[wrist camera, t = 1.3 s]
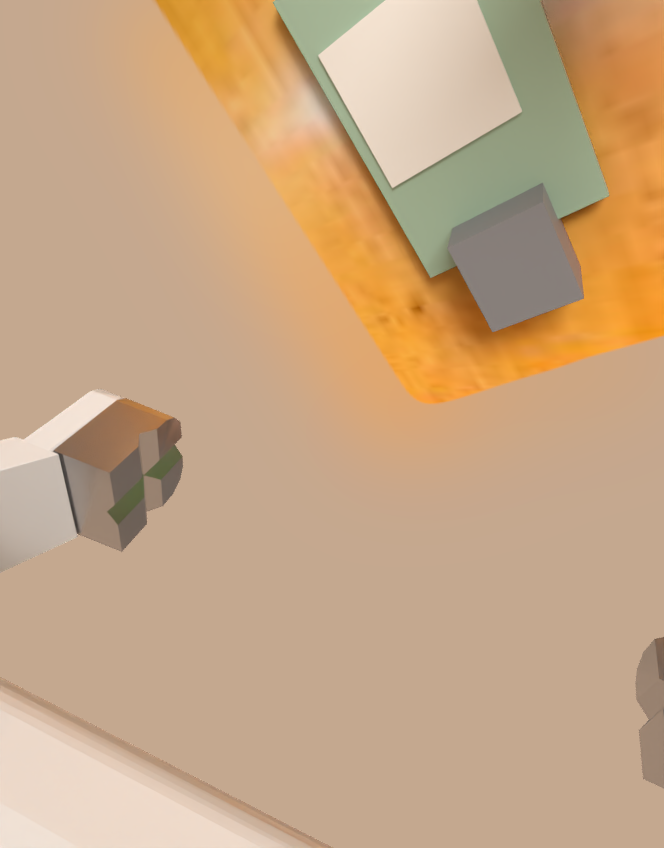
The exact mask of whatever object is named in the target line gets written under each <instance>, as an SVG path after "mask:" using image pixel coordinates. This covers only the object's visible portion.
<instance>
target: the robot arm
mask: <svg viewBox="0 0 664 848" xmlns="http://www.w3.org/2000/svg"><path fill="white" fill-rule="evenodd" d="M181 436H182V435H181V425H180V422H179V421H178V420H177V419H175V418H174V417H171V416H169V415H166V414H164V413H161V412H159V411H157V410H154V409H152V408H149V407H146V406H144V405H141V404H139V403H137V402H134V401H132V400H129V399H127V398H122V397H120V396H118V395H115V394H113V393H110V392H108V391H105V390H103V389H98V390H93V391H91V392H89V393H88V394H86V395H85V396H83V397H82V398H81V399H79V400H78V401H77V402H75V403H74V404H72V405H71V406H70V407H68V408H67V409H65V410H64V411H63V412H61V413H60V414H59V415H57V416H56V417H54V418H53V419H52V420H50V421H49V422H48V423H46V424H45V425H43V426H42V427H41V428H39V429H38V430H36V431H35V432H34V433H32V434H31V435H30V436H28V437H27V438H26V439H24V440H22V439H20V438H17V437H13V438H9V439H5V440H1V441H0V573H1V572H3V571H5V570H7V569H9V568H11V567H14V566H16V565H18V564H20V563H22V562H24V561H27V560H29V559H31V558H33V557H35V556H37V555H40V554H42V553H44V552H46V551H48V550H50V549H52V548H55V547H57V546H59V545H61V544H63V543H65V542H67V541H70V540H71V539H74V538H76V537H77V534H79V535H82V536H84V537H86V538H89V539H91V540H94V541H97V542H99V543H101V544H104V545H106V546H109V547H112V548H114V549H117V550H119V551H123V550H124V549H125V548H126V546H127V545H128V544H129V543H130V542H131V541H132V540H133V539H134V538H135V536H136V535H137V534H138V533H139V532H140V531H141V530H142V529H143V528H144V526H145V525H146V524H147V511H150V510H153V509H156V508H158V507H161V506H163V505H164V504H165V503H166V502H167V500H168V499H169V498H170V497H171V496H172V494H173V492H174V491H175V489H176V487H177V485H178V483H179V480H180V478H181V473H182V468H183V459H182V455H181V454H180V452H179V450H178V449H177V447H176V446H175V444H176V442H177V441H178V440H179V439H180V438H181ZM636 698H637V701H638V703H639V704H640V706H641V707H642V709H643V711H644V712H645V714H646V715H647V717H648V719H649V720H648V721H647V723H646V724H645V725H644V726H643V727H642V728H641V729H640V730H639V736H640V747H641V758H642V770H643V779H645V780H647V781H649V782H651V783H654V784H656V785H658V786H660V787H662V788H664V637H663V638H657V639H654V641H653V642H652V643H651V644H650V645H649V647H648V648H647V649H646V650H645V651H644V652H643V655H642V658H641V660H640V663H639V666H638V668H637V676H636ZM0 848H332V847H330V846H328V845H326V844H325V843H323V842H321V841H319V840H317V839H314V838H313V837H311V836H309V835H307V834H305V833H303V832H301V831H299V830H297V829H295V828H293V827H291V826H289V825H287V824H286V823H284V822H282V821H280V820H278V819H276V818H274V817H272V816H270V815H268V814H266V813H264V812H262V811H260V810H258V809H256V808H254V807H252V806H251V805H249V804H247V803H245V802H243V801H241V800H239V799H237V798H235V797H232V796H231V795H229V794H227V793H225V792H223V791H221V790H219V789H217V788H215V787H213V786H212V785H209V784H208V783H206V782H204V781H202V780H200V779H198V778H196V777H194V776H192V775H190V774H188V773H186V772H184V771H182V770H180V769H178V768H176V767H175V766H173V765H171V764H169V763H167V762H165V761H163V760H161V759H159V758H157V757H155V756H153V755H151V754H149V753H147V752H145V751H143V750H141V749H139V748H138V747H135V746H134V745H132V744H130V743H128V742H126V741H124V740H122V739H120V738H118V737H116V736H114V735H112V734H110V733H108V732H106V731H104V730H102V729H101V728H99V727H97V726H95V725H93V724H91V723H89V722H87V721H85V720H83V719H81V718H79V717H77V716H75V715H73V714H71V713H69V712H67V711H65V710H63V709H61V708H60V707H58V706H56V705H54V704H52V703H50V702H48V701H46V700H44V699H42V698H40V697H38V696H36V695H34V694H32V693H30V692H28V691H26V690H24V689H23V688H21V687H19V686H17V685H15V684H13V683H11V682H9V681H7V680H5V679H3V678H1V677H0Z"/></svg>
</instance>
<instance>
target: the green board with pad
mask: <svg viewBox="0 0 664 848" xmlns="http://www.w3.org/2000/svg"><path fill="white" fill-rule="evenodd" d="M273 4H274V6H275V7H276V9H277V11H278V12H279V14H280V16H281V18H282V19H283V21H284V23H285V25H286V26H287V28H288V30H289V32H290V33H291V35H292V37H293V39H294V40H295V42H296V44H297V46H298V47H299V49H300V51H301V53H302V54H303V56H304V58H305V60H306V61H307V63H308V65H309V67H310V68H311V70H312V72H313V74H314V75H315V77H316V79H317V81H318V82H319V84H320V86H321V88H322V89H323V91H324V93H325V95H326V96H327V98H328V100H329V102H330V103H331V105H332V107H333V108H334V110H335V112H336V114H337V115H338V117H339V119H340V121H341V122H342V124H343V126H344V128H345V129H346V131H347V133H348V135H349V136H350V138H351V140H352V142H353V143H354V145H355V147H356V149H357V150H358V152H359V154H360V156H361V157H362V159H363V161H364V163H365V164H366V166H367V168H368V170H369V171H370V173H371V175H372V177H373V178H374V180H375V182H376V184H377V185H378V187H379V189H380V191H381V192H382V194H383V196H384V198H385V199H386V201H387V203H388V204H389V206H390V208H391V210H392V211H393V213H394V215H395V217H396V218H397V220H398V222H399V224H400V225H401V227H402V229H403V231H404V232H405V234H406V236H407V238H408V239H409V241H410V243H411V245H412V246H413V248H414V250H415V252H416V253H417V255H418V257H419V259H420V260H421V262H422V264H423V266H424V267H425V269H426V271H427V273H428V274H429V276H430V278H432V277H434V276H436V275H438V274H440V273H443V272H445V271H447V270H449V269H451V268H453V267H456V266H457V267H458V269H459V271H460V273H461V275H462V276H463V278H464V280H465V282H466V284H467V286H468V288H469V289H470V291H471V293H472V295H473V297H474V299H475V301H476V302H477V304H478V306H479V308H480V310H481V312H482V314H483V315H484V317H485V319H486V321H487V323H488V325H489V327H490V328H491V330H492V332H495V331H497V330H500V329H503V328H505V327H508V326H511V325H514V324H516V323H519V322H522V321H524V320H527V319H530V318H532V317H535V316H538V315H541V314H543V313H546V312H549V311H551V310H554V309H557V308H559V307H562V306H565V305H567V304H570V303H573V302H576V301H578V300H581V299H584V294H583V285H582V275H581V266H580V264H579V261H578V259H577V257H576V254H575V252H574V249H573V247H572V244H571V242H570V240H569V237H568V235H567V232H566V230H565V228H564V225H563V223H562V220H561V218H562V217H564V216H567V215H569V214H571V213H573V212H575V211H577V210H580V209H582V208H584V207H586V206H588V205H591V204H593V203H595V202H597V201H599V200H601V199H604V198H606V197H608V196H609V192H608V188H607V185H606V182H605V179H604V176H603V174H602V171H601V168H600V165H599V162H598V160H597V157H596V154H595V151H594V148H593V146H592V143H591V140H590V137H589V134H588V132H587V129H586V126H585V123H584V120H583V118H582V115H581V112H580V109H579V106H578V104H577V101H576V98H575V95H574V92H573V90H572V87H571V84H570V81H569V78H568V76H567V73H566V70H565V67H564V64H563V62H562V59H561V56H560V53H559V50H558V48H557V45H556V42H555V39H554V36H553V34H552V31H551V28H550V25H549V22H548V20H547V17H546V14H545V11H544V8H543V6H542V3H541V0H275V1H274V2H273Z"/></svg>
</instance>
